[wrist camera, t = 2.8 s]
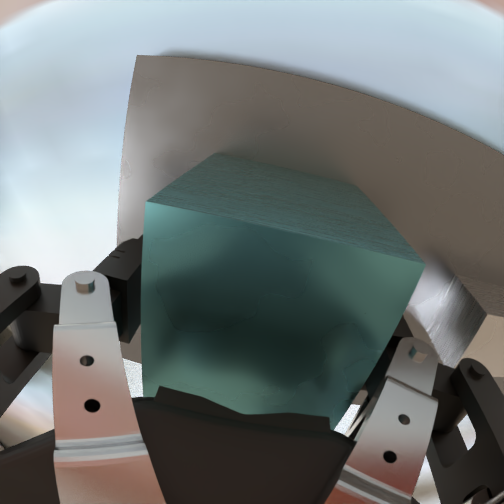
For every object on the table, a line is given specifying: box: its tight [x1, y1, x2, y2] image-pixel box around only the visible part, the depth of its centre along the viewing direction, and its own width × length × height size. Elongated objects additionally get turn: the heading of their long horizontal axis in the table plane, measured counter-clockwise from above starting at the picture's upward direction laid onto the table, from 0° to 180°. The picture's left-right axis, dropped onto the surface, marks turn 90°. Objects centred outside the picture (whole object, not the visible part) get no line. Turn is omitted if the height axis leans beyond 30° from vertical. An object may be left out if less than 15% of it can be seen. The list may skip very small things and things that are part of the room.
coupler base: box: [117, 55, 504, 405], centre depth 11 cm, size 26×14×4 cm, turn 79°
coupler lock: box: [141, 153, 426, 430], centre depth 10 cm, size 5×8×6 cm, turn 169°
